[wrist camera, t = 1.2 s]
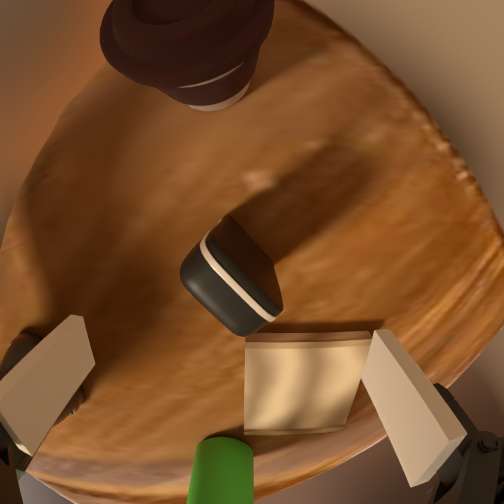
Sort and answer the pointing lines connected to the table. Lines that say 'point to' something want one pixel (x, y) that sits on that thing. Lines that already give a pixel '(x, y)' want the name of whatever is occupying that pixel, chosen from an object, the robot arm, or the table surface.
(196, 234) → the table surface
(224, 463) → the bottle
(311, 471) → the table surface
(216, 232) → the battery charger
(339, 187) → the table surface
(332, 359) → the board
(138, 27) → the coffee cup
